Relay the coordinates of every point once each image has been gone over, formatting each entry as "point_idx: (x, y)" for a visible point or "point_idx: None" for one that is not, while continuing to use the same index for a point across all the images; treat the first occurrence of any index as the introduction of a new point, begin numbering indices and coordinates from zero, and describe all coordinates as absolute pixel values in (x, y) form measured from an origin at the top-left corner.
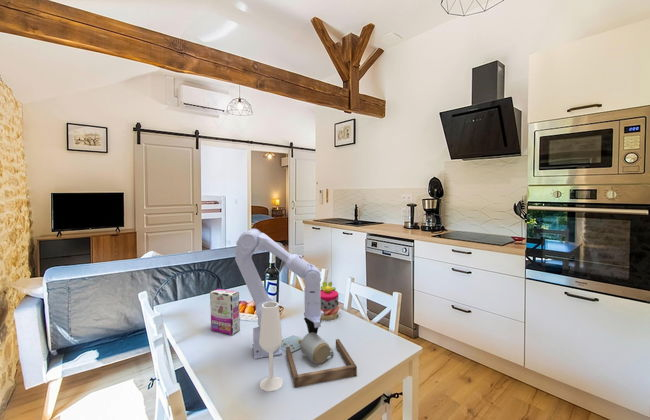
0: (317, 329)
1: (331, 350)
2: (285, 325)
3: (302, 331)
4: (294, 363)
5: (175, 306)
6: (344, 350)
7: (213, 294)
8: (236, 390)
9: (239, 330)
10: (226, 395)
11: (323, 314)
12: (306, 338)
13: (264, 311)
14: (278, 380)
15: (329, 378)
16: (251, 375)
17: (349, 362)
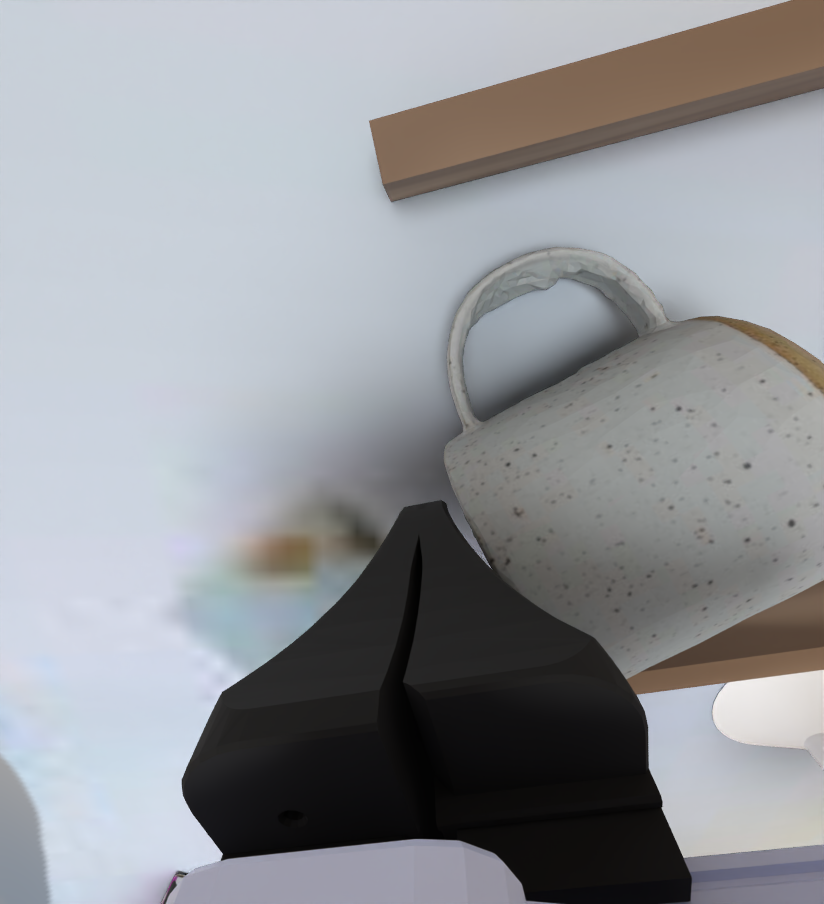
0: (489, 571)
1: (534, 273)
2: (18, 672)
3: (87, 549)
4: (783, 653)
5: None
6: (746, 51)
7: None
8: (767, 815)
9: (178, 876)
10: (786, 838)
11: (510, 872)
12: (636, 672)
13: None
14: (817, 687)
15: None
16: (664, 782)
17: None
